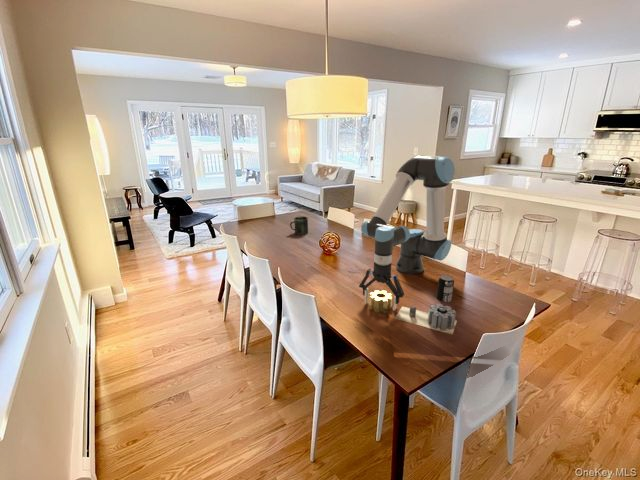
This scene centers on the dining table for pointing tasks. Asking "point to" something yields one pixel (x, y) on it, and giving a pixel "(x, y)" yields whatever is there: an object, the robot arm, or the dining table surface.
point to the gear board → (418, 318)
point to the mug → (300, 225)
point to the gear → (441, 317)
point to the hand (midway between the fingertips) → (380, 305)
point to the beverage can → (445, 288)
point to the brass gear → (380, 301)
